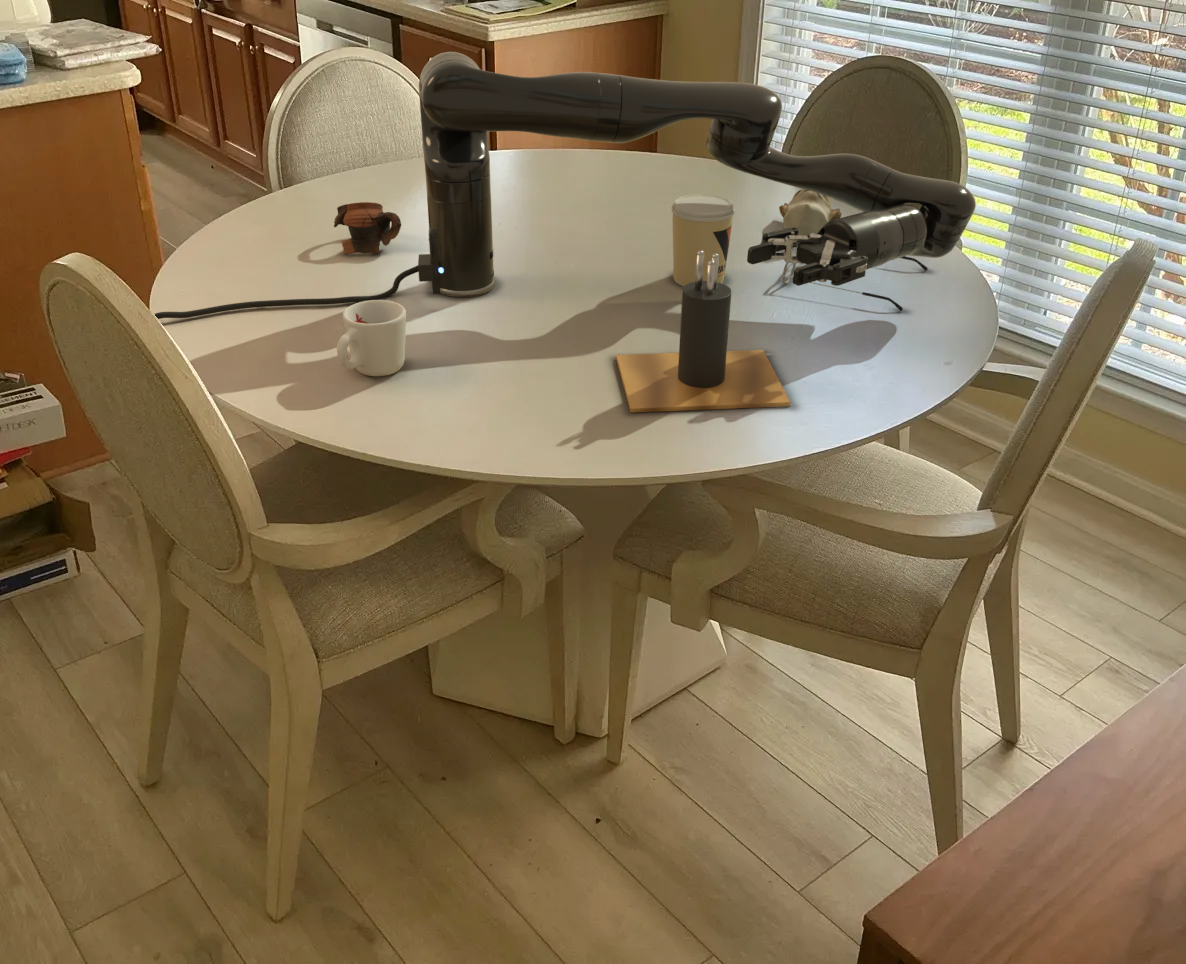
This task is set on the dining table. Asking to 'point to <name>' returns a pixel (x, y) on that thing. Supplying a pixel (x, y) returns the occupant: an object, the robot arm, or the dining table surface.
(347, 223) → the pottery mug
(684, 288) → the cutlery holder
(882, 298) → the eyeglasses
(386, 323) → the cup
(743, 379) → the wooden board
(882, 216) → the robot arm
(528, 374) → the dining table surface
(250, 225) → the dining table surface
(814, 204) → the ceramic sculpture
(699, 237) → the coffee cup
